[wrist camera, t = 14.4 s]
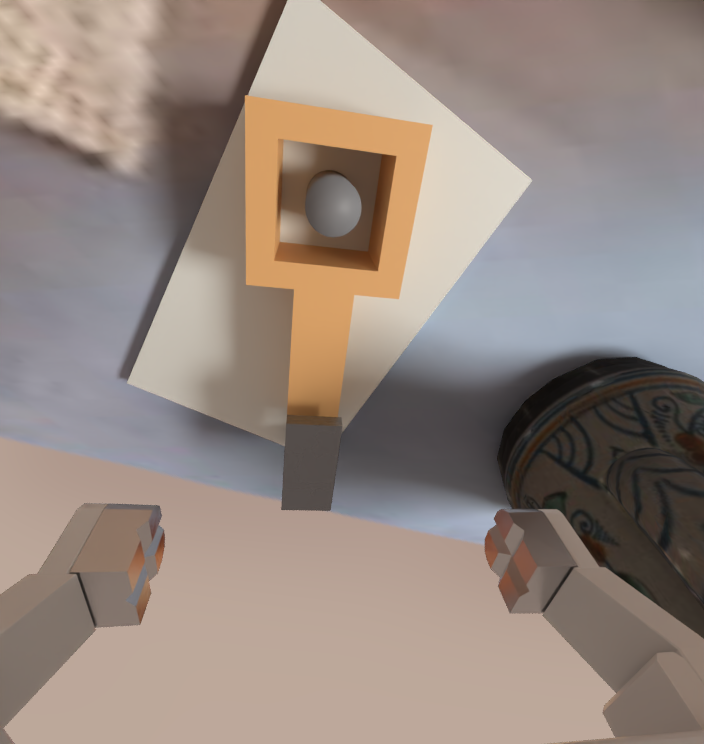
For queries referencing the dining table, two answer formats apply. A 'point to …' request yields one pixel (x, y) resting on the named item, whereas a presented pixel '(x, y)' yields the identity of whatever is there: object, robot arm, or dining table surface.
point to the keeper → (310, 461)
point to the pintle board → (319, 234)
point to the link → (325, 264)
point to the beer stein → (620, 473)
